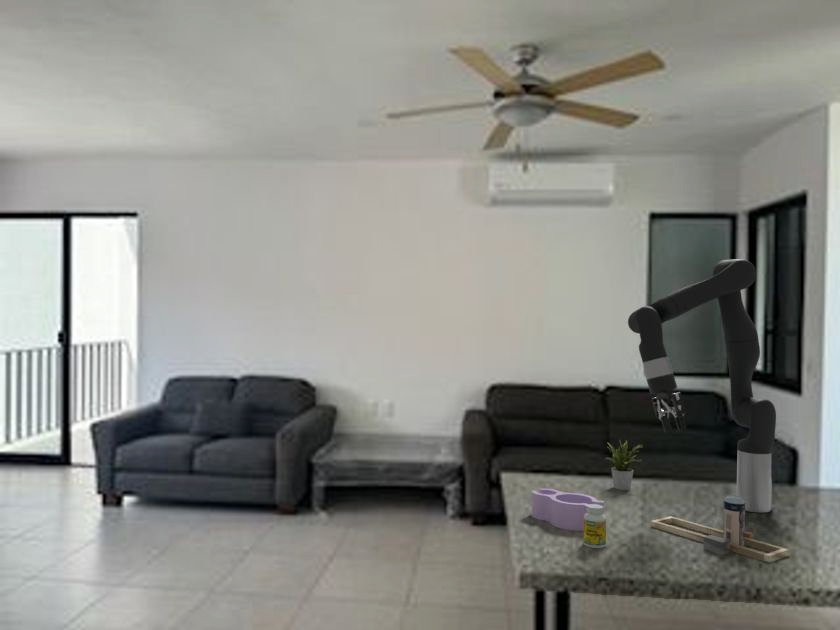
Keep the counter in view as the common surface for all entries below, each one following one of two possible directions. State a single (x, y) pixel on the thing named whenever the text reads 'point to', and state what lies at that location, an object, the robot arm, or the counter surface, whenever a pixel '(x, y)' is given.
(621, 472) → the house plant
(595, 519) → the supplement bottle
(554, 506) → the clip
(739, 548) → the beam track
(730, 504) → the beer can
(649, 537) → the counter surface
